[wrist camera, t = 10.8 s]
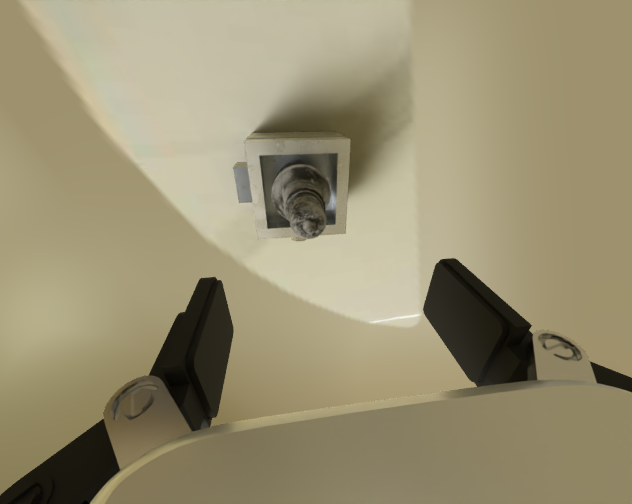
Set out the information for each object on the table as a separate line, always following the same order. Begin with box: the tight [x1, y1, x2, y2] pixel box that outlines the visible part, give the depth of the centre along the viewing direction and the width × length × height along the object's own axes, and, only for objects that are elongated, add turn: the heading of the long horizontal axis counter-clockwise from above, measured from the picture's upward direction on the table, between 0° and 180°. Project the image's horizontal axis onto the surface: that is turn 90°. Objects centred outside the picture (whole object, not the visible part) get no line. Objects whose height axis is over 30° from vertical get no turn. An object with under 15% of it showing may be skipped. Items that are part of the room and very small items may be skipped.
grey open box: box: [233, 131, 351, 241], centre depth 30 cm, size 13×12×10 cm
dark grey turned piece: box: [271, 160, 331, 239], centre depth 23 cm, size 6×6×12 cm
